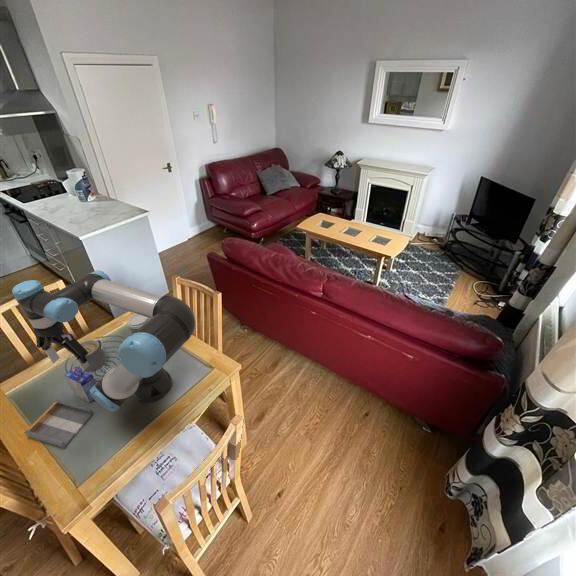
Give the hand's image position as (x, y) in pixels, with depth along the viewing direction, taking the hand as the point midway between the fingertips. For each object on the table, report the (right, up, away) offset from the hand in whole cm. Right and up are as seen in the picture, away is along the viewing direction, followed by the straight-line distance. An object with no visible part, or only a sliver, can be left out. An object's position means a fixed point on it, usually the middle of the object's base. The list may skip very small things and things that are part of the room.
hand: (70, 364), depth 115 cm
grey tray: (-3, -23, -1) cm, 23 cm away
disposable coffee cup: (+11, +2, +36) cm, 38 cm away
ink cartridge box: (0, -15, +11) cm, 19 cm away
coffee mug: (-6, -5, +25) cm, 27 cm away
